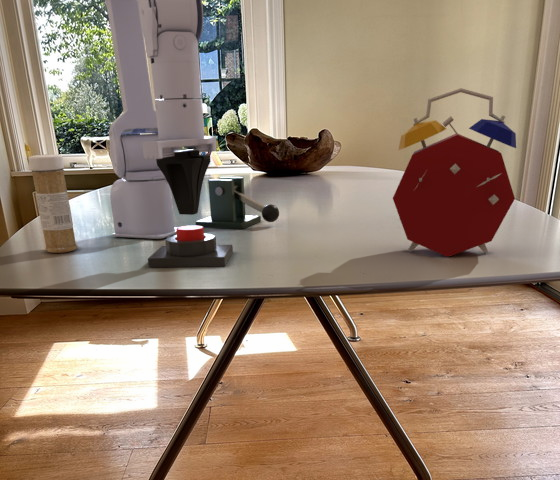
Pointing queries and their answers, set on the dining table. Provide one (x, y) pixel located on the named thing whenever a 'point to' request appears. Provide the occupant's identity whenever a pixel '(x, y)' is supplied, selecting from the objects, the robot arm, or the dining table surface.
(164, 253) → the button box
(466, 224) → the alarm clock
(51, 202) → the sprinkles bottle
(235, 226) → the bracket
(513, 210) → the dining table surface
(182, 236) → the button
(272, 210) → the lever
